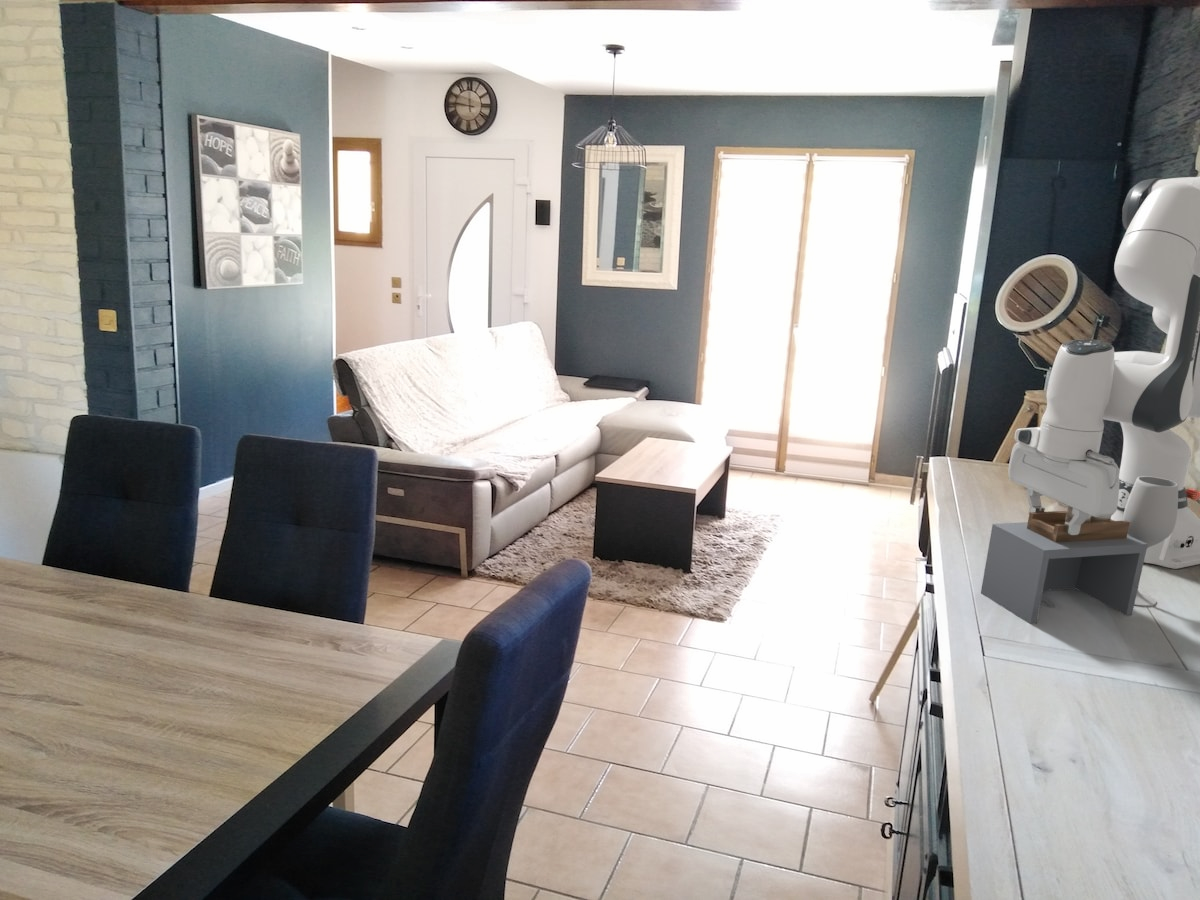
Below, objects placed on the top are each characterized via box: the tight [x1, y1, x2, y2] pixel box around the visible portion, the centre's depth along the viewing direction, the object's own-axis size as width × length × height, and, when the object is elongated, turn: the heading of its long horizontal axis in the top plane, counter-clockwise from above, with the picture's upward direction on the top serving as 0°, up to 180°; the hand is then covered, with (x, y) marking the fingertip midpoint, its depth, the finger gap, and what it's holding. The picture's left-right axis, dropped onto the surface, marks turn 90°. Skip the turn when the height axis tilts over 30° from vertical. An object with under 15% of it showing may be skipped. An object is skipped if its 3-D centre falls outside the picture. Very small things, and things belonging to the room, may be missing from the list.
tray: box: [1027, 505, 1130, 543], centre depth 147 cm, size 6×14×5 cm, turn 105°
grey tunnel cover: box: [980, 521, 1148, 625], centre depth 149 cm, size 20×12×12 cm, turn 105°
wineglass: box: [1123, 476, 1178, 608], centre depth 152 cm, size 8×8×21 cm
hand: (1052, 525), depth 146 cm, fingers closed on tray, 6 cm apart
